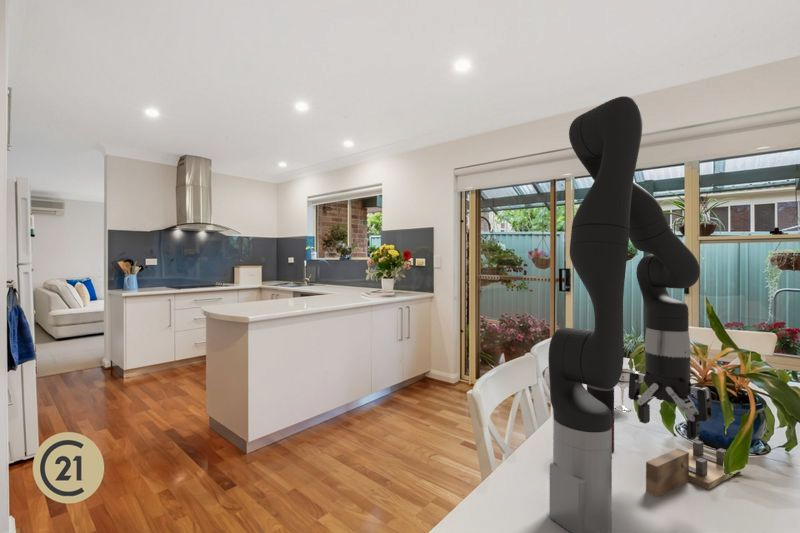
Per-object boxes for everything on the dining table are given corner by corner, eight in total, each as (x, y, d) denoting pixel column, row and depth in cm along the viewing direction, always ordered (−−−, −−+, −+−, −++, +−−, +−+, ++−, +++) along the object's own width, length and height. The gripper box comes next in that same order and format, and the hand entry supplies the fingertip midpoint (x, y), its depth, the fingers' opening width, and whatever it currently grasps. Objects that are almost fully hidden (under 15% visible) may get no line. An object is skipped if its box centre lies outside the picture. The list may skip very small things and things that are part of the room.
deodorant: (586, 450, 90) (586, 388, 90) (587, 440, 95) (587, 381, 95) (614, 456, 87) (614, 392, 87) (613, 445, 93) (613, 385, 93)
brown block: (659, 499, 71) (659, 467, 71) (646, 492, 73) (646, 461, 73) (691, 482, 77) (691, 453, 77) (677, 476, 79) (677, 448, 79)
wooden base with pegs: (709, 489, 74) (709, 468, 74) (660, 467, 82) (660, 448, 82) (740, 471, 81) (740, 452, 81) (692, 453, 89) (692, 435, 89)
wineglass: (640, 410, 116) (640, 372, 116) (625, 413, 113) (625, 374, 113) (619, 403, 122) (619, 366, 122) (605, 406, 119) (605, 368, 119)
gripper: (621, 346, 80) (621, 421, 80) (699, 361, 68) (699, 449, 68) (640, 342, 84) (641, 414, 84) (718, 356, 71) (718, 440, 71)
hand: (667, 430), depth 76 cm, fingers open, 8 cm apart
